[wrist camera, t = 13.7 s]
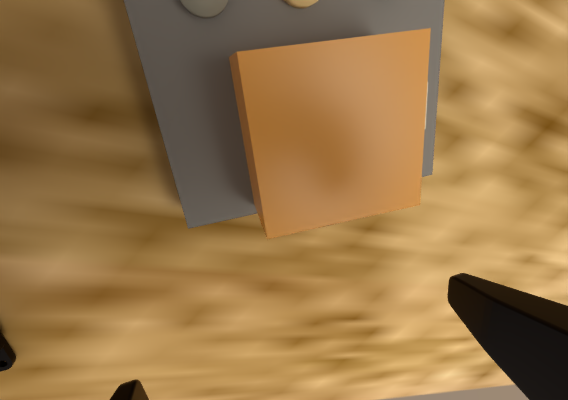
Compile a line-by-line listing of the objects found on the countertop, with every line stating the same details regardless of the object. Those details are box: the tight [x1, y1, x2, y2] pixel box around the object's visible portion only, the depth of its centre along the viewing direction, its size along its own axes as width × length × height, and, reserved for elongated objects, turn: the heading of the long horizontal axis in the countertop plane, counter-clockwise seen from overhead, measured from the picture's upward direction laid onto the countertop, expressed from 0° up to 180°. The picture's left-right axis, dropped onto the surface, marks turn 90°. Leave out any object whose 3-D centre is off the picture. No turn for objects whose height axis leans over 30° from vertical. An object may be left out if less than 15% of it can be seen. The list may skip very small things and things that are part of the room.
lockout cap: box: [229, 28, 431, 239], centre depth 14 cm, size 7×7×4 cm
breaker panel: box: [124, 0, 444, 228], centre depth 15 cm, size 14×12×3 cm
